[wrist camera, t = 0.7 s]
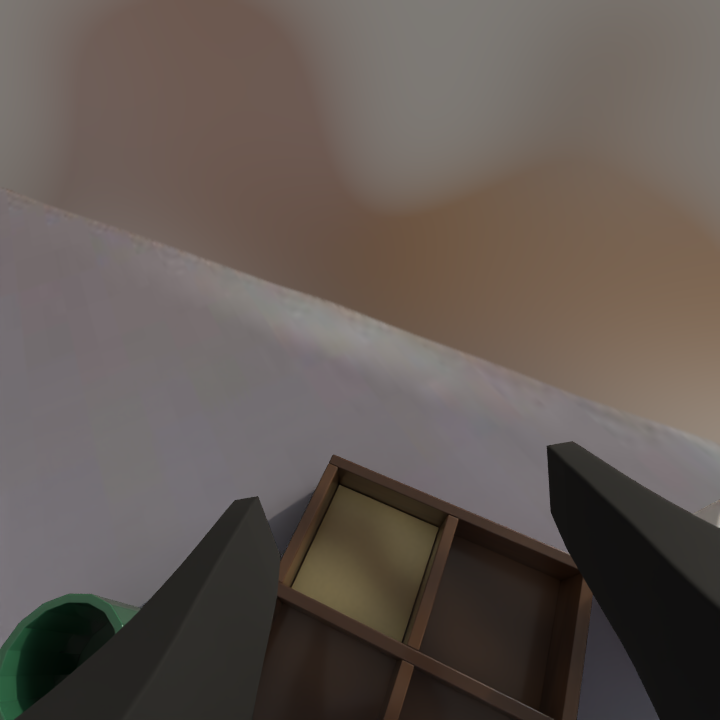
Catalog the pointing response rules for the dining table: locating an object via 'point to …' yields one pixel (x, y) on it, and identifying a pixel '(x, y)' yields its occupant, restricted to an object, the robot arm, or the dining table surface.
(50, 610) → the tumbler
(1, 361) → the dining table surface
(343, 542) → the rack
